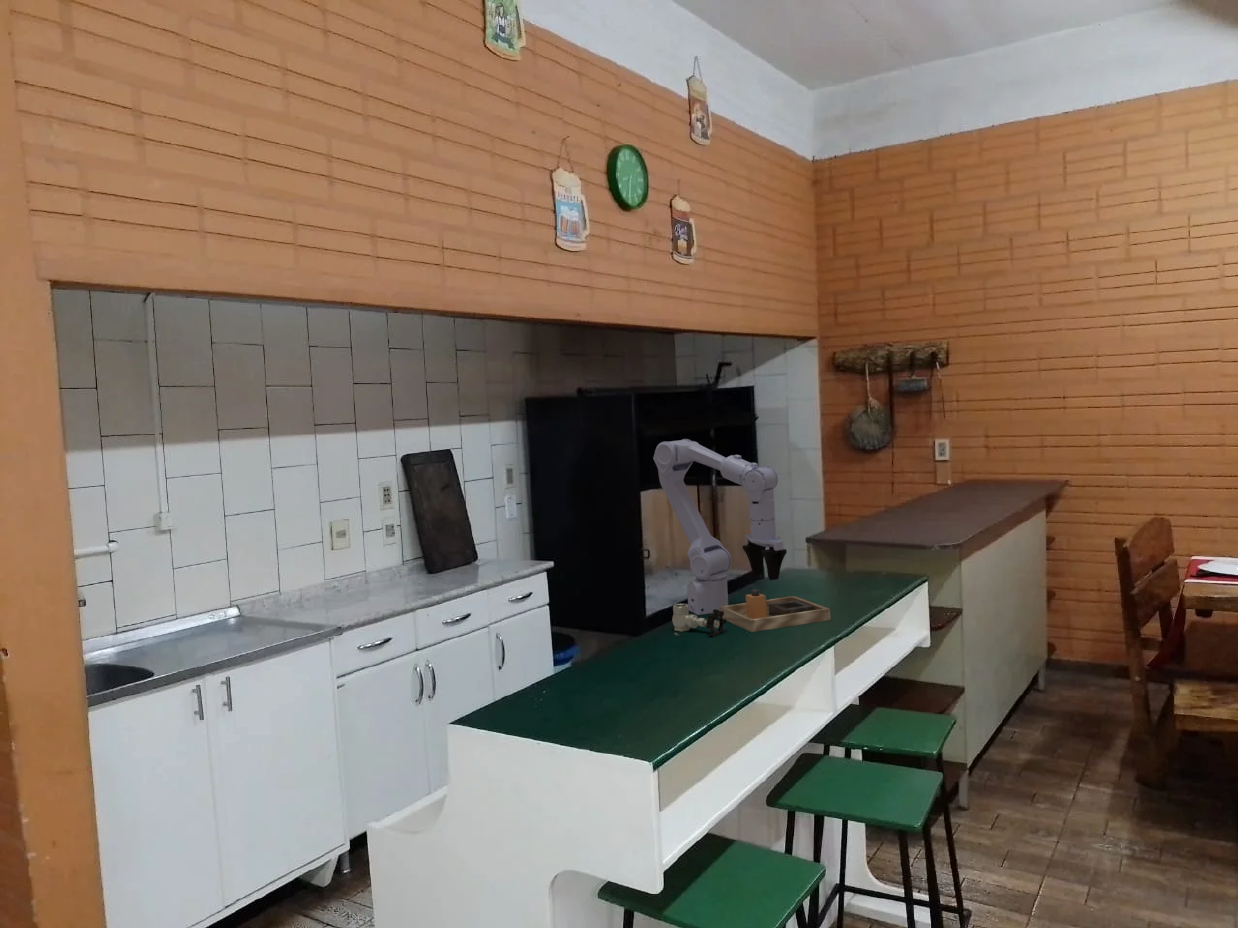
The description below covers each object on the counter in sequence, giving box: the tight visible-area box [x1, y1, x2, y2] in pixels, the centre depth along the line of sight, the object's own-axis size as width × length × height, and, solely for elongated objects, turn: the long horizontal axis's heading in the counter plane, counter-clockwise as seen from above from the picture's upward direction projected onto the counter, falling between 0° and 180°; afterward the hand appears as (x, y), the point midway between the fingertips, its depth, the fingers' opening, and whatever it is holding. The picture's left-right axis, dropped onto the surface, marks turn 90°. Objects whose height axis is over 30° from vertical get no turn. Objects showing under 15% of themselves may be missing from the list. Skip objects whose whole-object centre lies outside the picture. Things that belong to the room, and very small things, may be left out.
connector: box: [745, 588, 767, 619], centre depth 214 cm, size 3×3×7 cm
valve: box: [671, 603, 727, 638], centre depth 208 cm, size 7×7×12 cm
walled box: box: [720, 595, 831, 633], centre depth 215 cm, size 20×16×4 cm
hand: (765, 576), depth 217 cm, fingers open, 7 cm apart
